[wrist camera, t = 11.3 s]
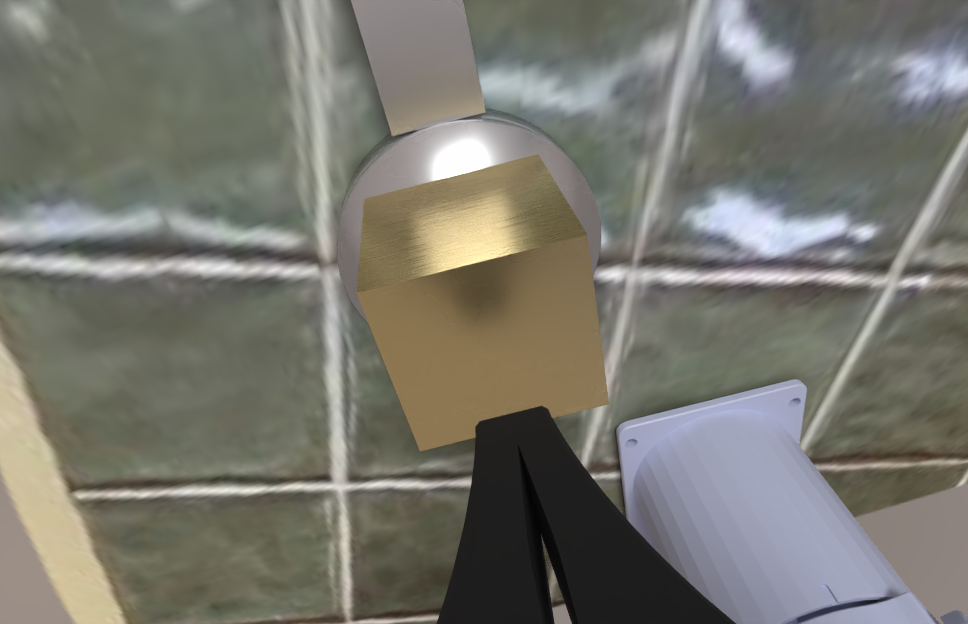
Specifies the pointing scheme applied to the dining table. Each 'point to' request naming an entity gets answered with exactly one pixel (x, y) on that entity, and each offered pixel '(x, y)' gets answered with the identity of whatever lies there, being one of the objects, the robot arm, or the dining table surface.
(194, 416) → the dining table surface
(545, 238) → the brushed tan cube
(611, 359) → the dining table surface
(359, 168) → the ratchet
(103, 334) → the dining table surface
